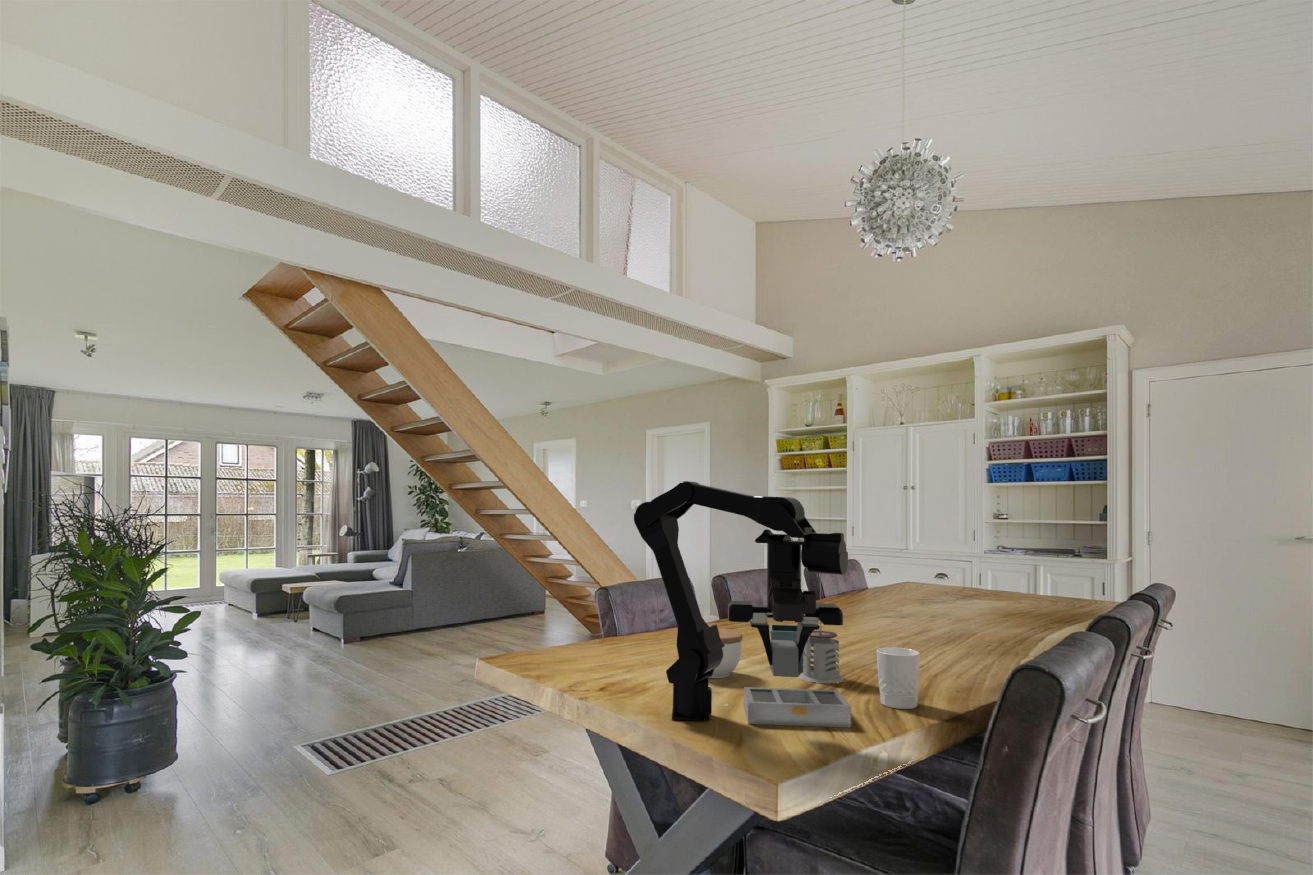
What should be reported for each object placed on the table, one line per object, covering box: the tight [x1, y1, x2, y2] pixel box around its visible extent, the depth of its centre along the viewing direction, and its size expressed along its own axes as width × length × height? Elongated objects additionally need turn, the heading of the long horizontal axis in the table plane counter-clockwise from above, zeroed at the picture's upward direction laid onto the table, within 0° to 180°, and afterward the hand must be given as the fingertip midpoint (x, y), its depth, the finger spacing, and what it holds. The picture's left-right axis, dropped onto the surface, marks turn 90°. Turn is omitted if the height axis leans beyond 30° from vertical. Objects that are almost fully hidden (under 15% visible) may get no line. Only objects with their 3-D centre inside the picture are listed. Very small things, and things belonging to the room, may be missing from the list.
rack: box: [743, 686, 852, 728], centre depth 124 cm, size 18×11×4 cm, turn 87°
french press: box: [798, 573, 845, 685], centre depth 153 cm, size 10×12×25 cm
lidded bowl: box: [708, 623, 743, 679], centre depth 155 cm, size 13×13×11 cm
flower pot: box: [769, 624, 804, 670], centre depth 163 cm, size 9×9×9 cm
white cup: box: [876, 646, 921, 710], centre depth 134 cm, size 8×8×10 cm
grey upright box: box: [769, 639, 799, 678], centre depth 116 cm, size 4×7×4 cm, turn 175°
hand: (783, 665), depth 116 cm, fingers closed on grey upright box, 4 cm apart
